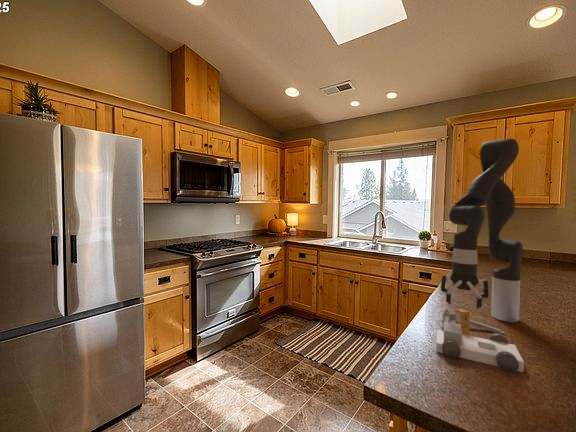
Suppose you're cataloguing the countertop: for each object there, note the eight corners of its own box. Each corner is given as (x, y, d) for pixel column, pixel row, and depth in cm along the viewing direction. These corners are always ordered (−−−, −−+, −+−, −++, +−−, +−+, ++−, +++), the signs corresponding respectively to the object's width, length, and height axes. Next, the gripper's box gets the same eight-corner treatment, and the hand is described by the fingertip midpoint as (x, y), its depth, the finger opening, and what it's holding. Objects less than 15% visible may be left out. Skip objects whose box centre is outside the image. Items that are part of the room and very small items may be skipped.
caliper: (442, 323, 110) (442, 308, 110) (442, 322, 111) (442, 307, 111) (505, 335, 101) (506, 318, 100) (504, 334, 102) (505, 317, 101)
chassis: (436, 335, 100) (437, 316, 100) (512, 351, 89) (513, 330, 89) (436, 354, 87) (436, 333, 87) (525, 376, 76) (526, 351, 76)
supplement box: (463, 335, 100) (464, 308, 100) (469, 339, 97) (470, 312, 96) (454, 335, 100) (455, 308, 99) (460, 339, 96) (461, 312, 96)
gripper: (487, 261, 97) (485, 306, 97) (441, 257, 104) (440, 299, 104) (491, 265, 90) (489, 313, 91) (442, 260, 97) (440, 305, 98)
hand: (463, 305), depth 97 cm, fingers open, 8 cm apart
